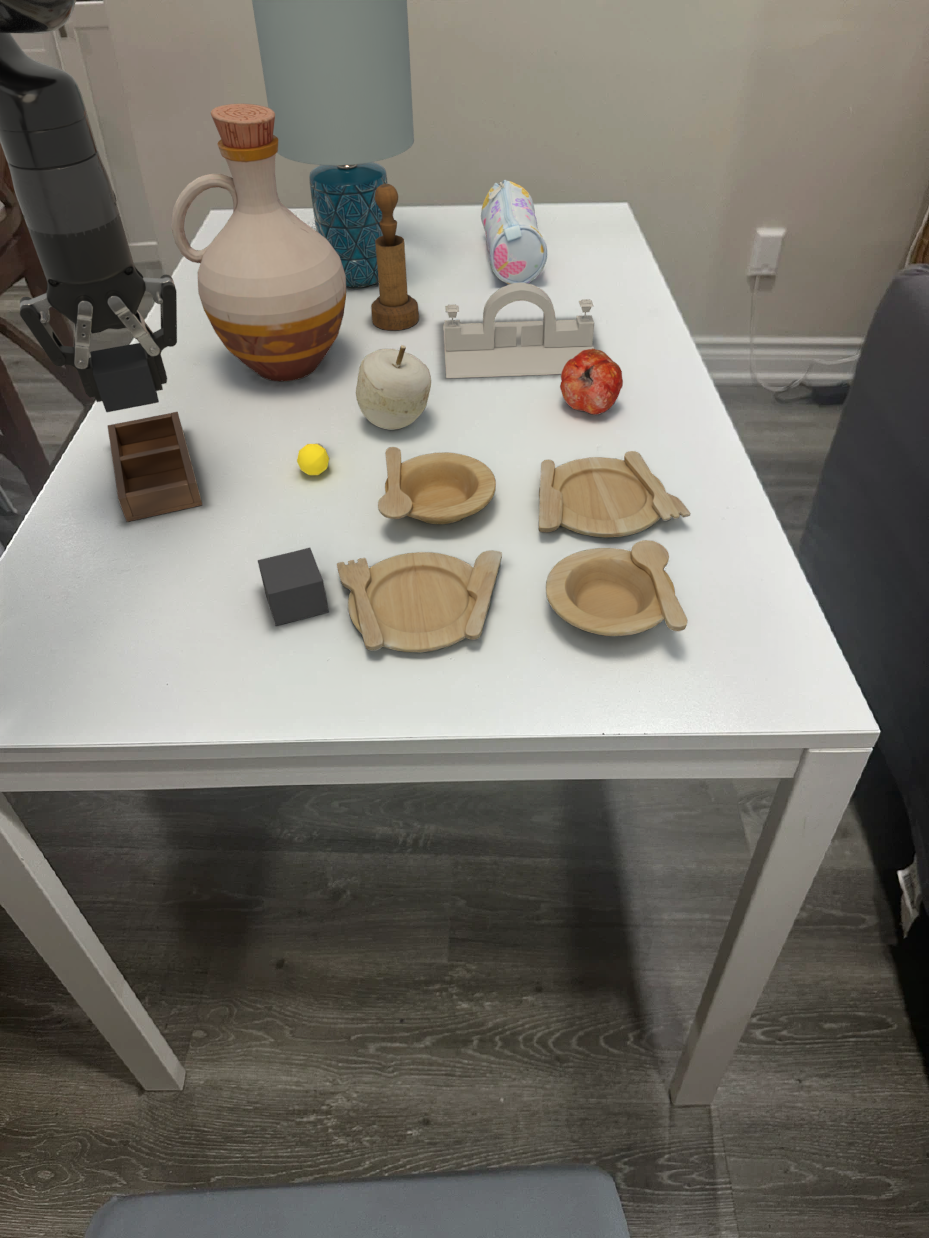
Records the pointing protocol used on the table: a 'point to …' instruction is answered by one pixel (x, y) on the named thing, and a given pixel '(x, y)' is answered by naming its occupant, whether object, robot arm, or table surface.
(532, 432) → the table surface
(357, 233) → the lamp
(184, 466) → the back frame
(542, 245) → the pencil case
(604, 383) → the pomegranate
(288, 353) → the jug
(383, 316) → the mortar and pestle
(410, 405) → the decorative object
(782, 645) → the table surface
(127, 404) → the pad left
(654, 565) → the tableware set
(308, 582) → the pad right
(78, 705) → the table surface
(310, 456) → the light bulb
